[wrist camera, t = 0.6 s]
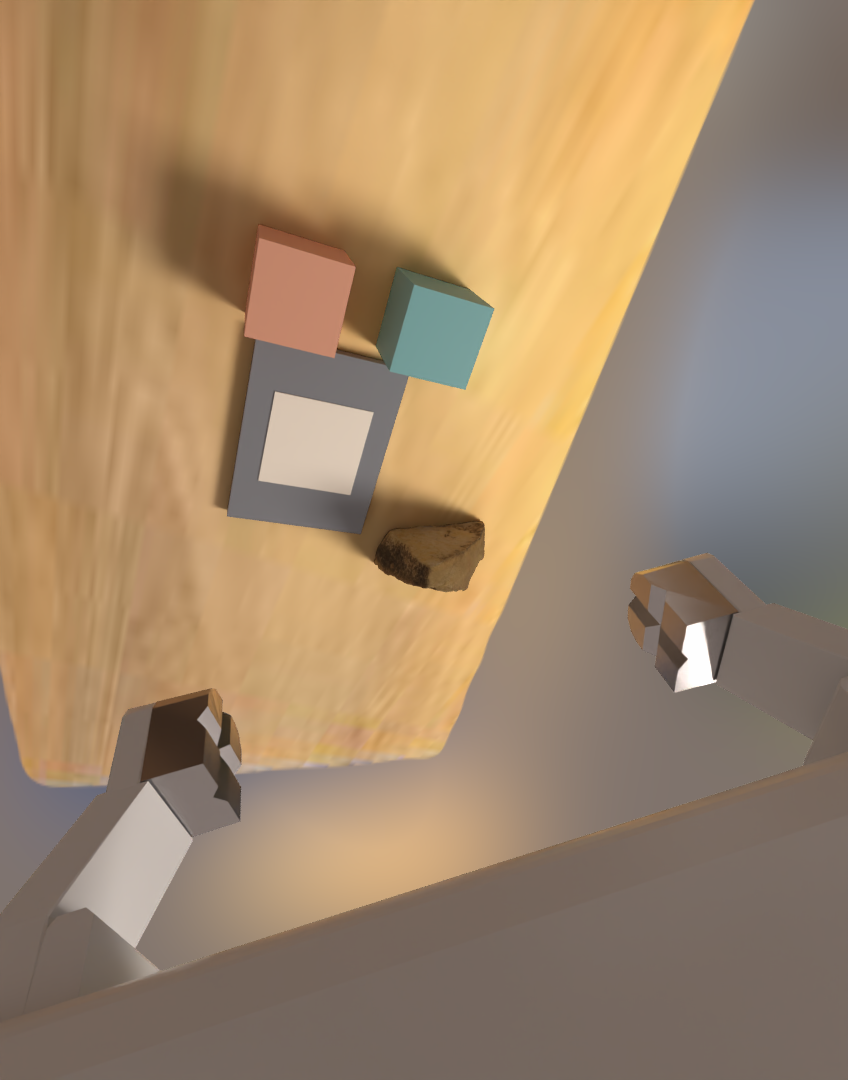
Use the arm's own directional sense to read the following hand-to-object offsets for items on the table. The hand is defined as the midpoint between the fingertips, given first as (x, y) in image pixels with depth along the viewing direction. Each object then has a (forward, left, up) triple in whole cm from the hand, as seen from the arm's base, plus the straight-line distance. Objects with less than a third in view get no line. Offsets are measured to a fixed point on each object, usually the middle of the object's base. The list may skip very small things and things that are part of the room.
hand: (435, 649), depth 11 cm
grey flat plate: (+13, +4, -39) cm, 41 cm away
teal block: (+1, +10, -39) cm, 40 cm away
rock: (+22, +17, -39) cm, 48 cm away
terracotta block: (+1, 0, -39) cm, 39 cm away
